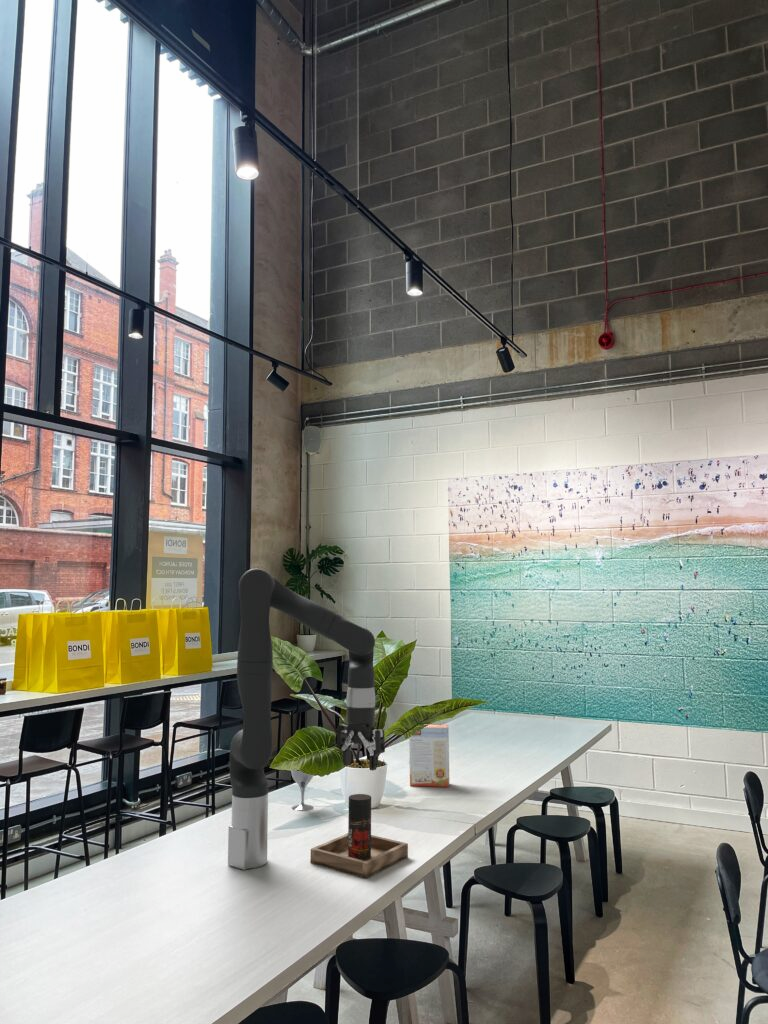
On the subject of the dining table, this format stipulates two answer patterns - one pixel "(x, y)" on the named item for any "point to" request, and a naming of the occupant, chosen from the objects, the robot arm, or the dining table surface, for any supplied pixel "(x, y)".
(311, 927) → the dining table surface
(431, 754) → the cracker box
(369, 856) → the deodorant
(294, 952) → the dining table surface
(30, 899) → the dining table surface
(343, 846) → the tray
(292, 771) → the wine glass
